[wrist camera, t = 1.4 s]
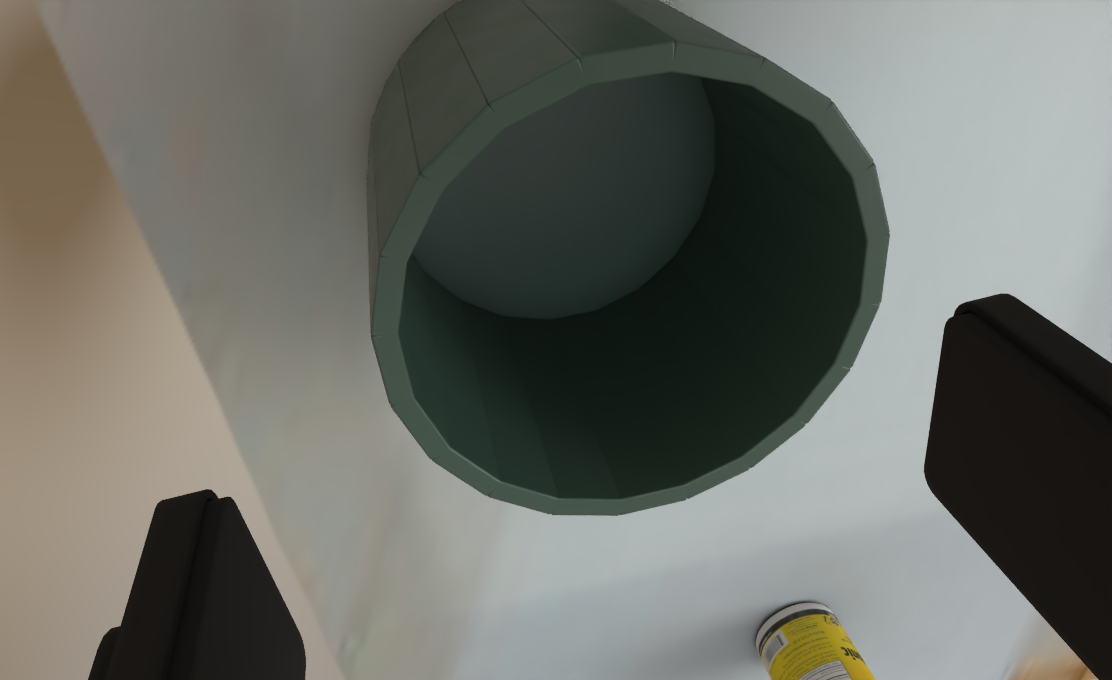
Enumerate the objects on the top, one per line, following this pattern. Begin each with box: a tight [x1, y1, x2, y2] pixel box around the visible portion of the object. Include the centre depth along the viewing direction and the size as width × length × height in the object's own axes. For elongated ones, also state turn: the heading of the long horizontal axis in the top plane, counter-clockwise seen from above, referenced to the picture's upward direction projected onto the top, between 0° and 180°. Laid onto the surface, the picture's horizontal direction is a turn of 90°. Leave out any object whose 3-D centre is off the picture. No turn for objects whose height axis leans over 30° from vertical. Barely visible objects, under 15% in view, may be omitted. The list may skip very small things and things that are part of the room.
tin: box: [366, 0, 890, 516], centre depth 27 cm, size 14×14×12 cm
